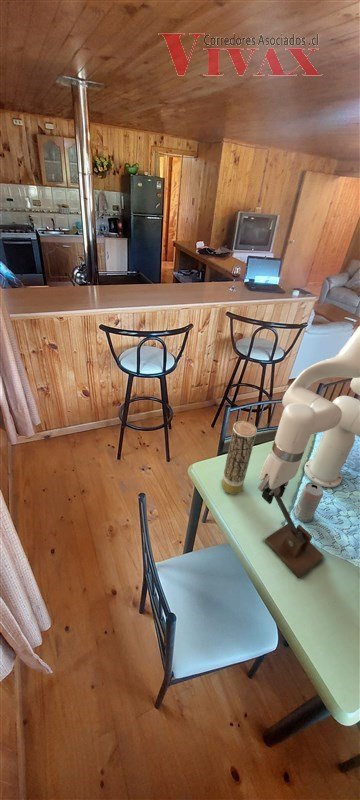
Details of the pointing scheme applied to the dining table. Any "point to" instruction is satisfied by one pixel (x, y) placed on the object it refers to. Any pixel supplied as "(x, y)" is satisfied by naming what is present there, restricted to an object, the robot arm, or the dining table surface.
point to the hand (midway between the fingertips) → (272, 496)
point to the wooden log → (238, 456)
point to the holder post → (288, 516)
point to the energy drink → (308, 501)
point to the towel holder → (294, 549)
